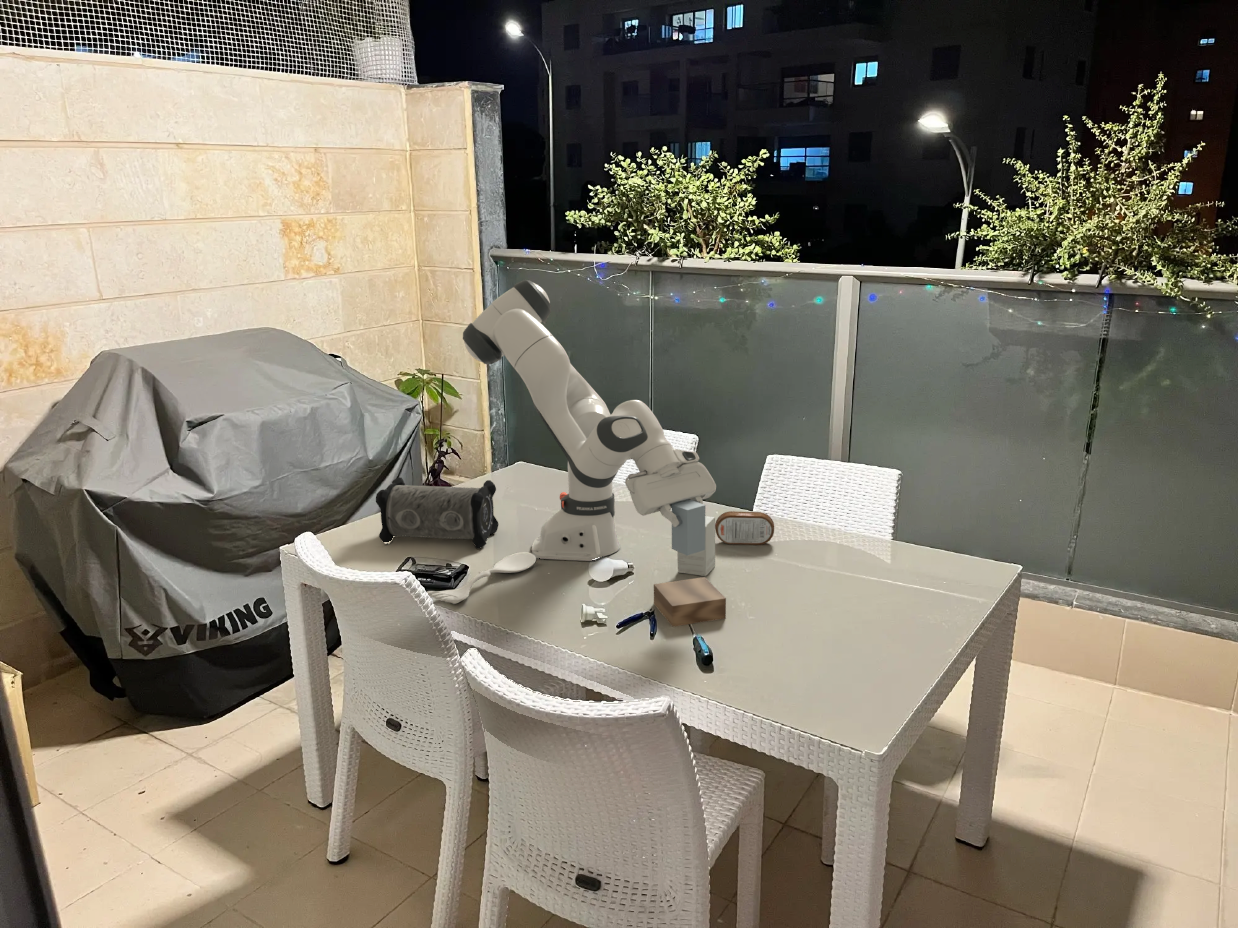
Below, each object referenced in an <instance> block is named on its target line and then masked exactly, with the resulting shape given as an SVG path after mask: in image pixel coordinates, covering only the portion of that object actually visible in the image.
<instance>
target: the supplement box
mask: <svg viewBox="0 0 1238 928" xmlns="http://www.w3.org/2000/svg"><path fill="white" fill-rule="evenodd" d="M715 523H716V517H715V516H708V515H706V516H705V550H703V551H700V552H697V553H694V554H691V555H685V554H683V553H680V552H678V551H676V552H677V553H676V554H677V572H678V573H680V574H689V575H694V576H695V575H696V576H701V577H707V576H708V575H709V574H710V572H711V571H712V570H713V569H714V568H715V566H716V530H715Z"/></svg>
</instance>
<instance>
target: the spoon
mask: <svg viewBox="0 0 1238 928" xmlns="http://www.w3.org/2000/svg"><path fill="white" fill-rule="evenodd" d="M536 561H537V558H536V557H535V556H534V555H533V554H532V552H527V551H522V552H515V553H513V554H509V555H507V556H505V557H502V558H501V559H500V560H499V561H497V562H495V563H494V564H493V567H491V568H488V569H486V570H480V571H478V574H476V575H475V576H473V577H471V579H470V580H469V581H467V582H466V583H465V584H464V585H463V586H461V587H459V588H456V589H446V590H440V591H435V590H428V591H426V592H427V593H428V595H429V596H428V597H430V598H434V600H440V601H441V602H446V603H449V604H453V605H455V604H458V603H460V602H462V601H464V600H466V599H468V597H469V595H470V591H471V589H472V587H473V585H474V584H475V583H476V582H478V581H479V580H481V579H483V578H486V577H490V576H491V574H495V573H501V574H503V573H505V574H508V573H509V574H513V573H520V572H523V571H525V570H527V569H529V568H532V566H533V565H534V564H535V563H536Z"/></svg>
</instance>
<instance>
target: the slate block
mask: <svg viewBox="0 0 1238 928" xmlns="http://www.w3.org/2000/svg"><path fill="white" fill-rule="evenodd" d="M671 511H672V512H673V513H674V514H675V515H676V516H678V515H679V516H680V517H681V520H682V521H683V523H682V524H681V525H680V526H677V527H673V525H672V524H671V550H672V551H676V552H677V551H678V552H680V553H683V554H685V555H691V554H694V553H697V552H700V551H703V550H705V515H706V504H704V503H703V504H701V503H698V502H695V501H693V500H690V499H689V500H685V501H682V502H678V503H674V504H672V508H671Z"/></svg>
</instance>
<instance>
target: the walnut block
mask: <svg viewBox="0 0 1238 928" xmlns="http://www.w3.org/2000/svg"><path fill="white" fill-rule="evenodd" d="M653 605H654V606H655V607H656V608H657V610H658V611H659V612H660V614H661V615H662V617H664V618H665V619H666V621H667V622H668V623H669V625H670V626H671V627H673V628H674V627H679V626H685V625H686V626H687V625H691V624H692V625H694V624H698V623H706V622H711V621H712V622H713V621H717V620H724V619H727V618H726V617H727V616H726V615H727V611H726V610H727V598H726V597H725V596H724V595H723V593H721V591H719V590H718V589H717V588H716V587H715V586H714V585H713V584H712V583H711V582H710V580H708V579H707V577H706V576H701V577H697V578H689V579H688V578H687V579H682V580H675V581H668V582H666V581H665V582H659V583H654V584H653Z"/></svg>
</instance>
